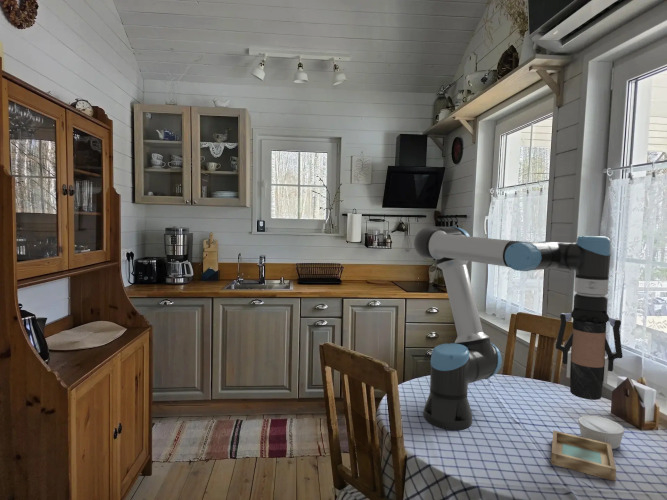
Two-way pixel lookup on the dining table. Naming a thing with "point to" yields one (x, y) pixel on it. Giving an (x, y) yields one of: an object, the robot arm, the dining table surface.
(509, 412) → the dining table surface
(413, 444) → the dining table surface
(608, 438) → the ramekin
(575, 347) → the travel mug
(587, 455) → the tray
